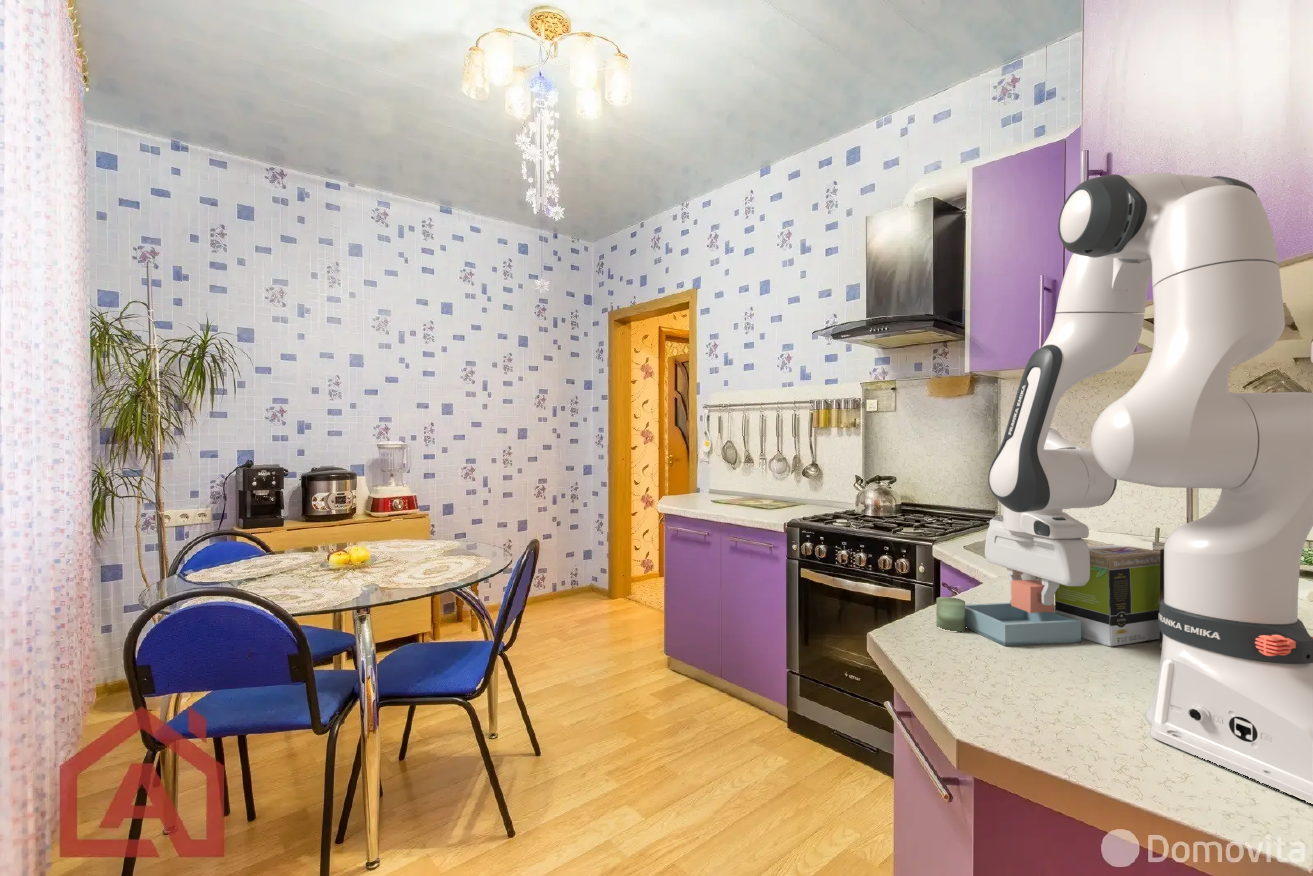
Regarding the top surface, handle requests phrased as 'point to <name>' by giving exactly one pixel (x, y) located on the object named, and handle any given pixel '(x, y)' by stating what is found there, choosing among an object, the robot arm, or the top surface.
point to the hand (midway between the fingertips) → (1032, 599)
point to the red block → (1028, 596)
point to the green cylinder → (950, 614)
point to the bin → (1020, 625)
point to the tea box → (1116, 596)
